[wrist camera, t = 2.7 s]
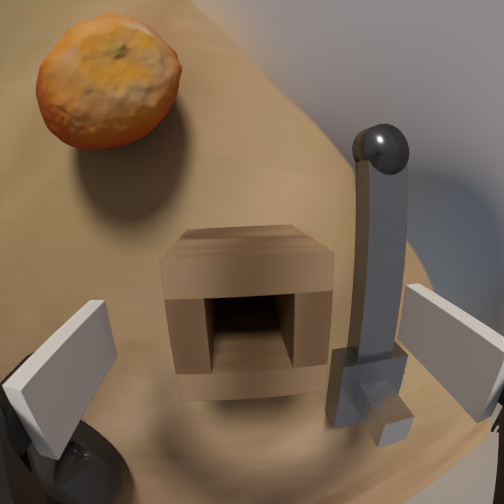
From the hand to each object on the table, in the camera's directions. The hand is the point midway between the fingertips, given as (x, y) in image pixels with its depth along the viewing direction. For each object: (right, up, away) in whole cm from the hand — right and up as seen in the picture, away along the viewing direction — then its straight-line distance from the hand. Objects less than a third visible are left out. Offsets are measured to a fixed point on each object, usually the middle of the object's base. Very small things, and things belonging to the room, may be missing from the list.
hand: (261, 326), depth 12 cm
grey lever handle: (+8, +1, +8) cm, 11 cm away
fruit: (-8, +13, +4) cm, 16 cm away
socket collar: (-1, +1, +7) cm, 7 cm away
